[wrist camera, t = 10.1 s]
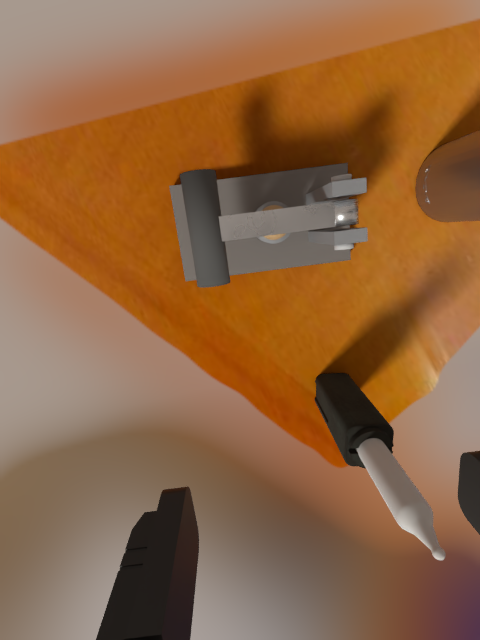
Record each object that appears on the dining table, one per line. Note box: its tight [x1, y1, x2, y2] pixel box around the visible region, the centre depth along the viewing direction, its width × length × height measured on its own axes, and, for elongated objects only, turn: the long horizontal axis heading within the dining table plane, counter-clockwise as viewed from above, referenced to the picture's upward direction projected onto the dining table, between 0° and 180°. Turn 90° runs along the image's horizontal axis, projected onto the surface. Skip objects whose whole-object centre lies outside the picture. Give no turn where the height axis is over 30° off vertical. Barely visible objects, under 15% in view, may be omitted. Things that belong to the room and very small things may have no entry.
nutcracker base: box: [169, 163, 367, 281], centre depth 34 cm, size 20×11×12 cm, turn 97°
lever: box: [180, 169, 359, 287], centre depth 31 cm, size 16×10×4 cm, turn 97°
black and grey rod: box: [315, 373, 445, 560], centre depth 35 cm, size 5×5×25 cm
